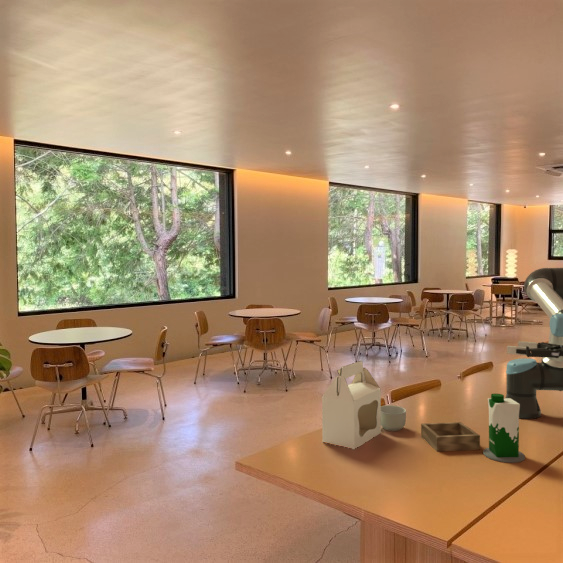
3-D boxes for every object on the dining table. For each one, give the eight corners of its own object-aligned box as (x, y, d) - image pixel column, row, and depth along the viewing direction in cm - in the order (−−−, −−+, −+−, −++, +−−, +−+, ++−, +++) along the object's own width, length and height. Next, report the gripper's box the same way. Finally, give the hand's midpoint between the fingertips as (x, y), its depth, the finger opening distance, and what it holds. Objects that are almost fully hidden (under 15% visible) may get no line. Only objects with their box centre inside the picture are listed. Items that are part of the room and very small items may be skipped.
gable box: (351, 427, 208) (350, 357, 207) (381, 433, 200) (380, 360, 199) (321, 442, 190) (321, 366, 189) (354, 450, 182) (353, 371, 181)
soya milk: (485, 449, 179) (485, 391, 179) (511, 448, 179) (511, 391, 179) (495, 458, 171) (495, 398, 170) (523, 458, 170) (523, 398, 170)
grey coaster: (511, 447, 182) (511, 446, 182) (533, 461, 169) (533, 460, 169) (476, 449, 181) (476, 447, 181) (494, 463, 168) (494, 461, 168)
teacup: (407, 425, 208) (407, 406, 208) (404, 434, 198) (404, 413, 197) (372, 422, 213) (372, 403, 212) (368, 431, 202) (368, 410, 202)
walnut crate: (460, 435, 196) (460, 422, 196) (479, 449, 181) (479, 435, 181) (421, 436, 195) (421, 423, 195) (437, 451, 179) (437, 437, 179)
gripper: (570, 370, 167) (502, 362, 181) (585, 358, 186) (522, 352, 200) (570, 346, 167) (502, 341, 180) (585, 337, 186) (522, 333, 199)
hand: (512, 347), depth 190 cm, fingers open, 13 cm apart
